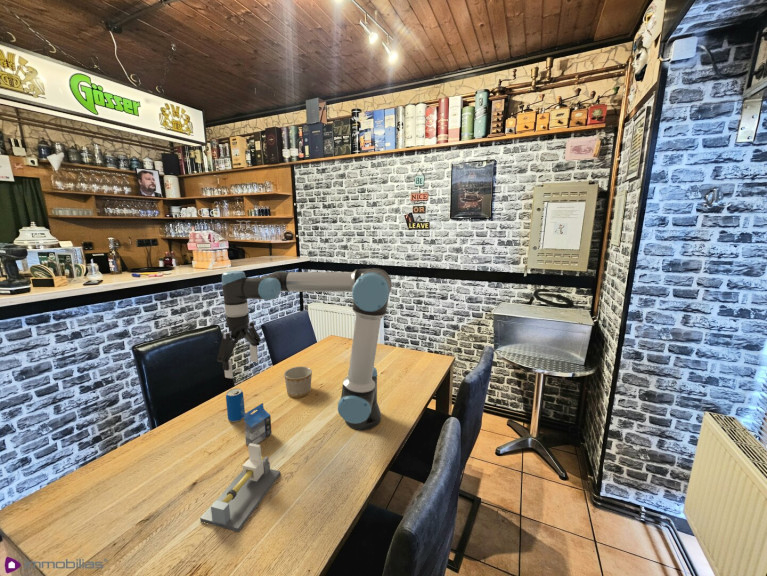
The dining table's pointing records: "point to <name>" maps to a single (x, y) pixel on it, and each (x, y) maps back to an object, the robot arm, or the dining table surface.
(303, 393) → the planter
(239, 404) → the beverage can
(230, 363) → the robot arm
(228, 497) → the linear slide rail
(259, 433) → the label tape cartridge
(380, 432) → the dining table surface
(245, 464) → the white slider carriage
